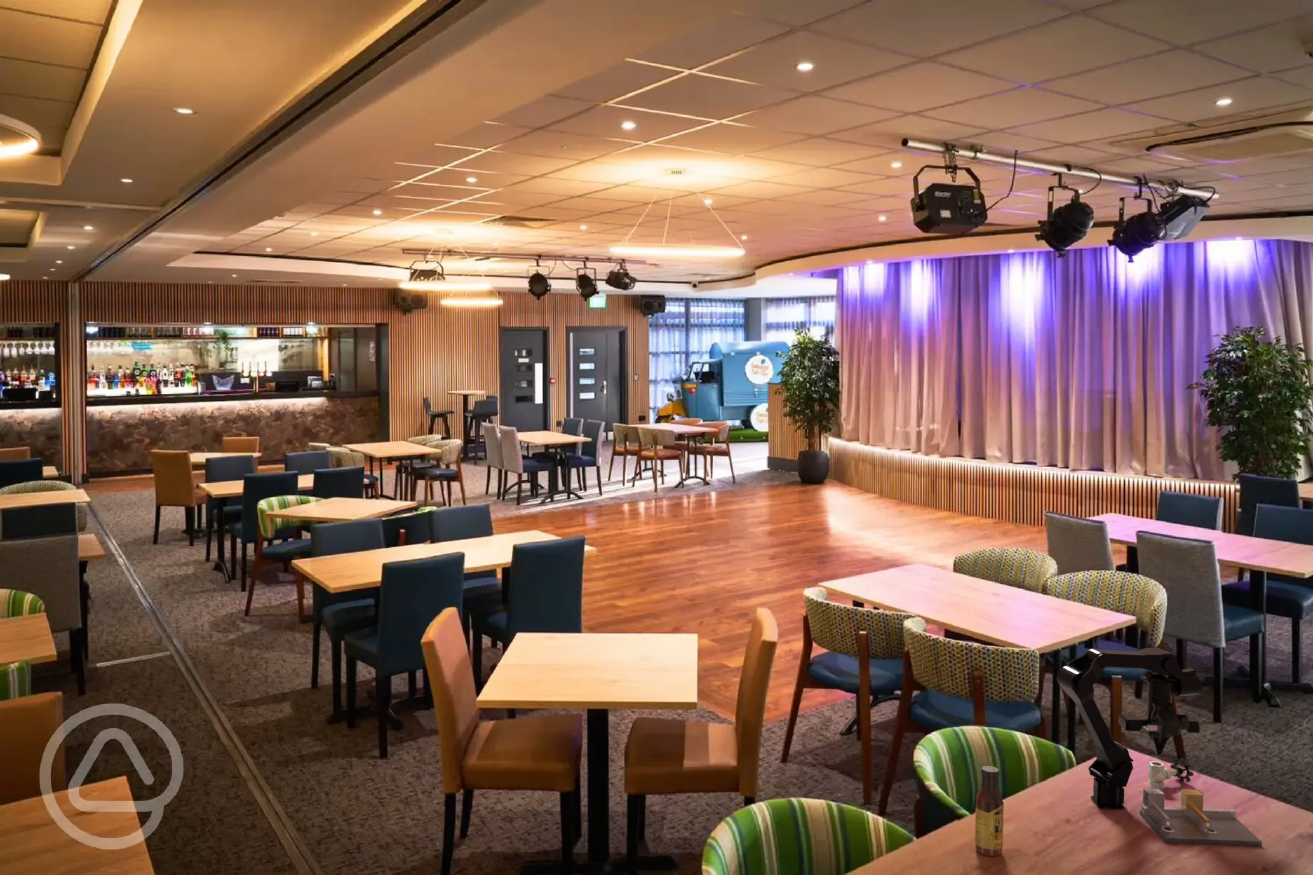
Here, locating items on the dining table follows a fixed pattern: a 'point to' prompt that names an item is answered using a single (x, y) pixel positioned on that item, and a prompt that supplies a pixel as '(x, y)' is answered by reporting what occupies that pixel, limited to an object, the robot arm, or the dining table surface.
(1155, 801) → the bolt plate dividers
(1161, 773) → the valve
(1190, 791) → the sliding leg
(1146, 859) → the dining table surface
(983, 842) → the sauce bottle
